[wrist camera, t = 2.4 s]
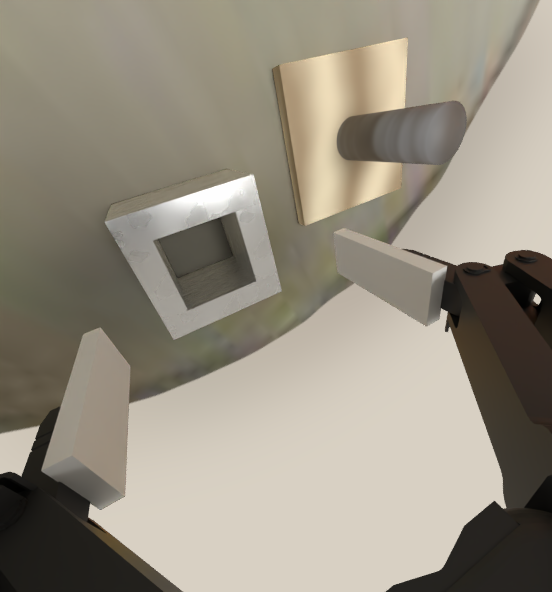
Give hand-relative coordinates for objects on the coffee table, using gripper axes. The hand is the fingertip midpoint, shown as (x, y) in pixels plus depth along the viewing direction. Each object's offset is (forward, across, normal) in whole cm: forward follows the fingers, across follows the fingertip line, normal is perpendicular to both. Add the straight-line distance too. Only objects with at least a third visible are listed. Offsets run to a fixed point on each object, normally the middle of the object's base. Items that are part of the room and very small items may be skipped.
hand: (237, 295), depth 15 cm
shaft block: (+11, +16, +4) cm, 20 cm away
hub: (+11, 0, 0) cm, 11 cm away
